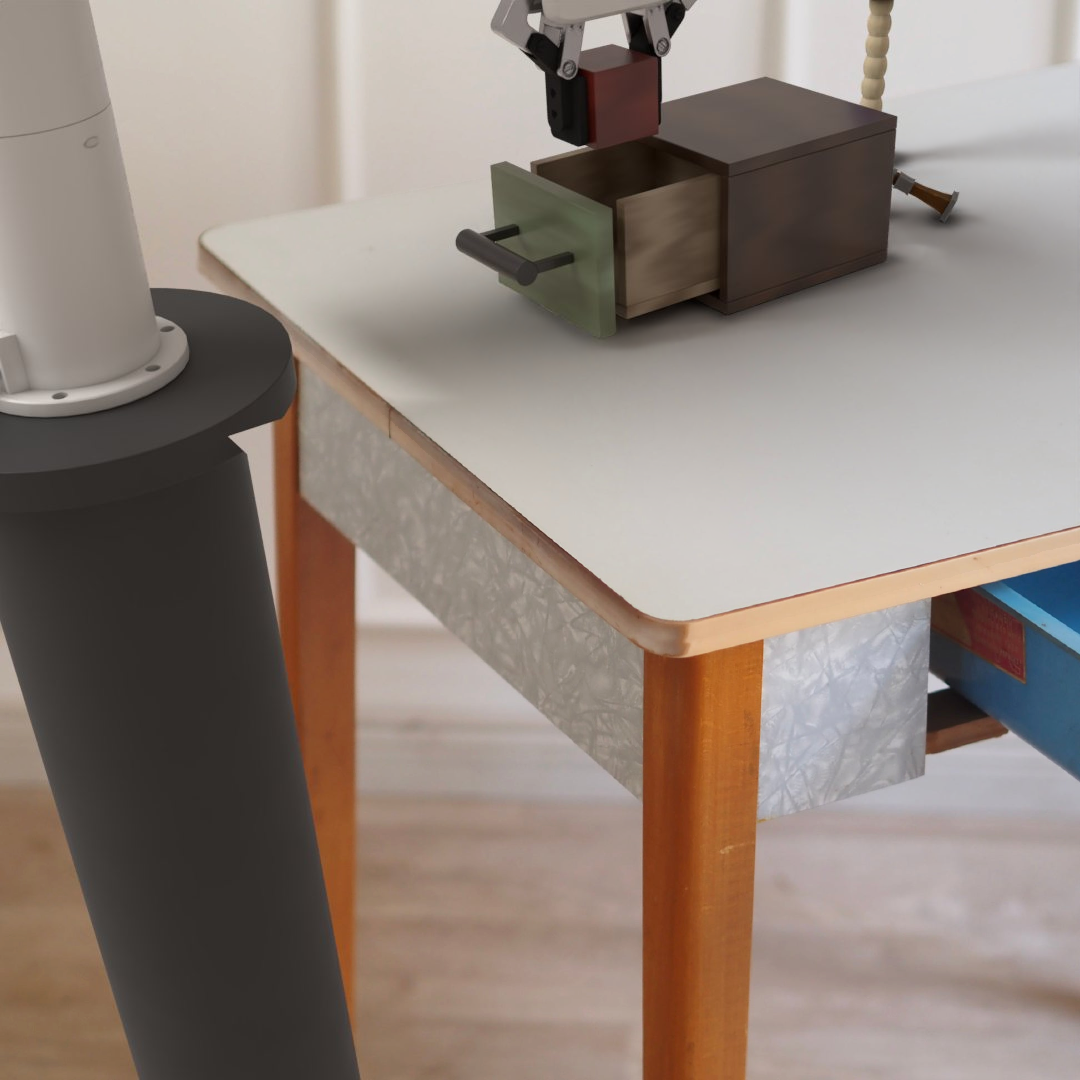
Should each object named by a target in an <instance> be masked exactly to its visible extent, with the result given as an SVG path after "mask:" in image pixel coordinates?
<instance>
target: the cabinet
mask: <svg viewBox="0 0 1080 1080" xmlns="http://www.w3.org/2000/svg"><path fill="white" fill-rule="evenodd" d="M658 126H659V133H658V134H656V135H652V136H649V137H645V138H641V139H638V140H634V141H637V142H639V143H642V144H645V145H647V146H650V147H652V148H655V149H658V150H660V151H663V152H665V153H668V154H671V155H673V156H676V157H678V158H681V159H684V160H686V161H689V162H691V163H694V164H697V165H699V166H702V167H704V168H707V169H709V170H712V171H715V172H717V173H720V174H722V175H721V217H720V289H717V290H714V291H711V292H708V293H705V294H702V295H699V296H696V297H693V298H692V299H694V300H696V301H698V302H700V303H702V304H704V305H706V306H708V307H710V308H713V309H714V310H716V311H719V312H721V313H723V314H725V315H732V314H734V313H736V312H740V311H742V310H746V309H749V308H752V307H754V306H757V305H760V304H762V303H766V302H768V301H771V300H774V299H777V298H780V297H784V296H786V295H789V294H792V293H794V292H795V293H796V292H798V291H800V290H801V291H802V290H804V289H807V288H810V287H813V286H815V285H818V284H821V283H824V282H827V281H830V280H833V279H836V278H839V277H842V276H844V275H847V274H851V273H854V272H856V271H859V270H862V269H866V268H868V267H870V266H871V267H872V266H874V265H876V264H880V263H882V262H883V263H884V262H886V261H887V259H888V248H889V236H890V235H889V234H890V223H891V220H890V219H891V210H892V209H891V207H892V195H893V194H892V193H893V185H892V183H893V169H894V167H895V157H896V156H895V155H896V154H895V153H896V141H897V127H898V116H897V115H894V114H892V113H888V112H885V111H883V110H882V111H878V110H875V109H872V108H868V107H865V106H862V105H859V104H858V103H856V102H852V101H848V100H845V99H843V98H842V99H841V98H838V97H836V96H835V97H834V96H831V95H828V94H826V93H822V92H818V91H816V90H811V89H809V88H805V87H802V86H799V85H795V84H793V83H789V82H785V81H782V80H779V79H776V78H772V77H769V76H766V75H765V76H762V77H758V78H755V79H750V80H746V81H742V82H739V83H735V84H731V85H727V86H722V87H719V88H716V89H711V90H707V91H704V92H700V93H696V94H692V95H688V96H684V97H680V98H676V99H672V100H668V101H664V102H662V103H661V124H660V125H658Z"/></svg>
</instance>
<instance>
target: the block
mask: <svg viewBox="0 0 1080 1080" xmlns="http://www.w3.org/2000/svg"><path fill="white" fill-rule="evenodd" d="M578 75H580V76H583V77H586V81H587V95H588V120H589V141H588V144H587V145H584V146H585V147H590V148H593V149H595V150H601V149H605V148H608V147H612V146H616V145H619V144H623V143H627V142H630V141H634V140H638V139H641V138H645V137H649V136H652V135H656V134H658V133H659V126H658V62H657V58H656V57H653V56H650V55H647V54H643V53H640V52H637V51H634V50H630V49H629V48H628V47H623V46H620V45H617V44H615V43H610V44H606V45H602V46H597V47H593V48H588V49H584V50H581V54H580V61H579V68H578Z"/></svg>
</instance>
